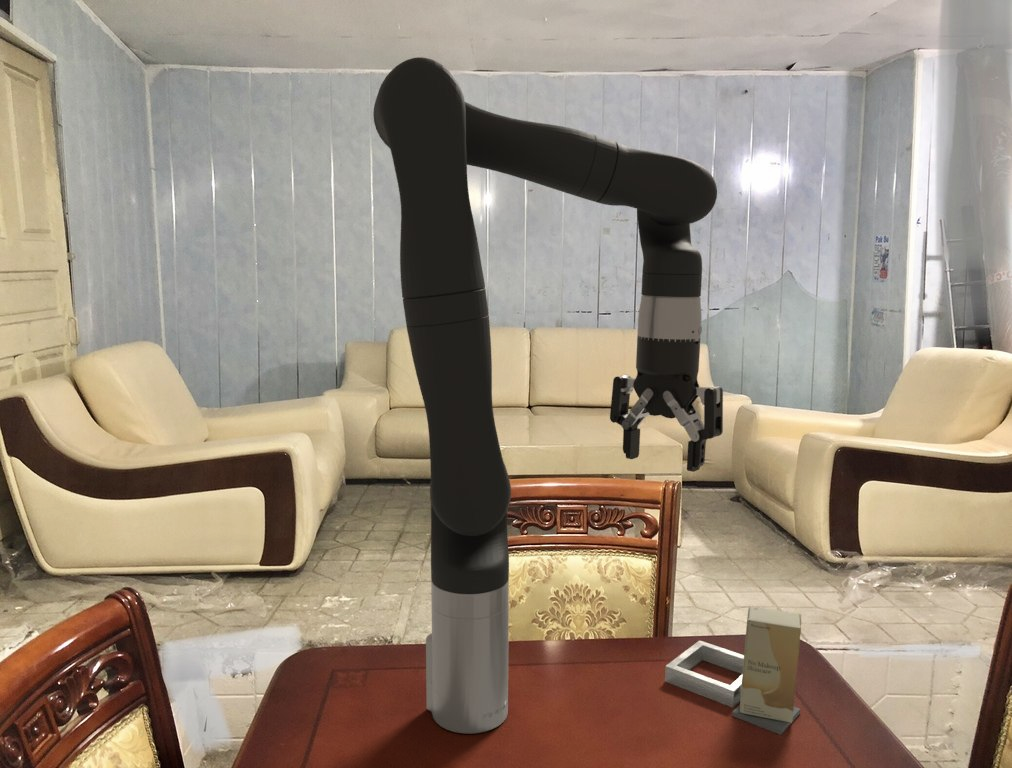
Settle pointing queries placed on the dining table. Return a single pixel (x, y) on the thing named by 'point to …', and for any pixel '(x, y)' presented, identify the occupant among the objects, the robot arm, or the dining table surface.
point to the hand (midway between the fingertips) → (662, 464)
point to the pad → (766, 720)
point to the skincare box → (770, 663)
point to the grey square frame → (703, 685)
